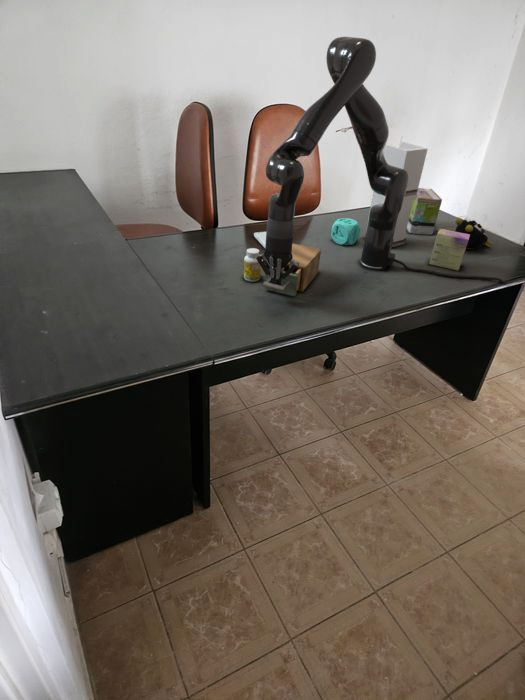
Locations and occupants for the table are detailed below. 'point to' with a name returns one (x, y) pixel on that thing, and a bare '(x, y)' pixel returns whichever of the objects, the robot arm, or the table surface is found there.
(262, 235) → the hard drive
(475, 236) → the black yellow plush toy
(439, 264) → the box
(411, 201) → the tall white carton
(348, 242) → the decorative dice
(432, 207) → the tea box
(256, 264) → the supplement bottle
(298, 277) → the drawer
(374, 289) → the table surface
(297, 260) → the cabinet
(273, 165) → the robot arm
